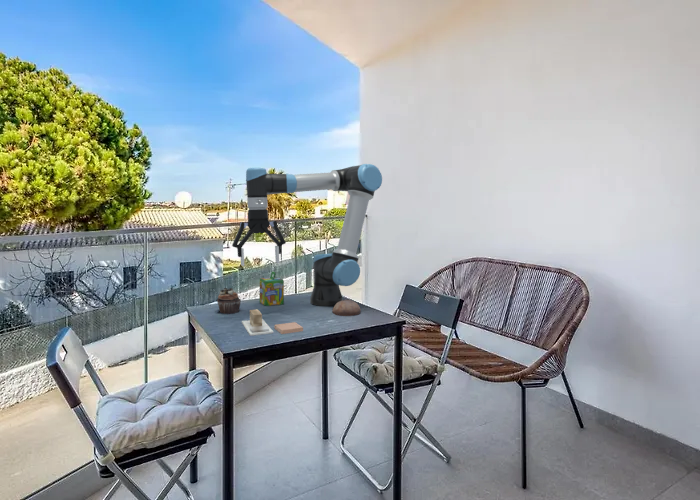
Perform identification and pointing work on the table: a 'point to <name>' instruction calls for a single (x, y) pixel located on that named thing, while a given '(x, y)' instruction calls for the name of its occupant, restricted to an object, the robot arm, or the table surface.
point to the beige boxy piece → (257, 322)
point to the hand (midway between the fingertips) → (260, 264)
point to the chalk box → (271, 291)
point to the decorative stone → (346, 308)
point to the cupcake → (228, 301)
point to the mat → (248, 325)
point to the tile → (288, 328)
